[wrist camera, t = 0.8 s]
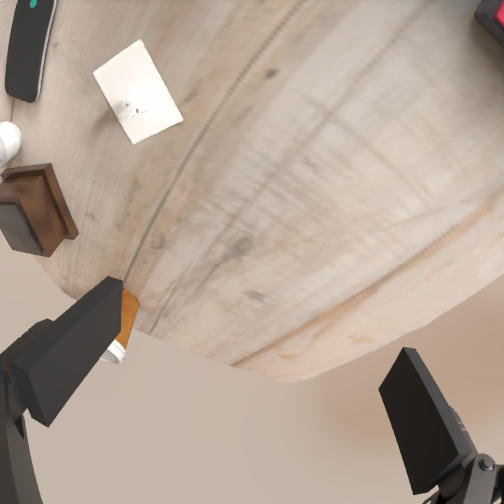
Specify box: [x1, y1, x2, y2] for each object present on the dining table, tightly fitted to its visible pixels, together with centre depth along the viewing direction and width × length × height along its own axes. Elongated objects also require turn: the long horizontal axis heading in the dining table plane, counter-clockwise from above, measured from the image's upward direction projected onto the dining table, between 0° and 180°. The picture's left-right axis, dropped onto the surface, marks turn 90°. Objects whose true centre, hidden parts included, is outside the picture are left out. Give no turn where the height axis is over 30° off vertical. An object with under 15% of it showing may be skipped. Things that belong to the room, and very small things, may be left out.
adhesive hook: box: [117, 94, 149, 123], centre depth 25 cm, size 3×3×3 cm
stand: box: [0, 163, 79, 257], centre depth 36 cm, size 13×13×7 cm
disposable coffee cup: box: [100, 289, 139, 364], centre depth 48 cm, size 10×10×12 cm
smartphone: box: [5, 0, 57, 102], centre depth 20 cm, size 8×1×15 cm
